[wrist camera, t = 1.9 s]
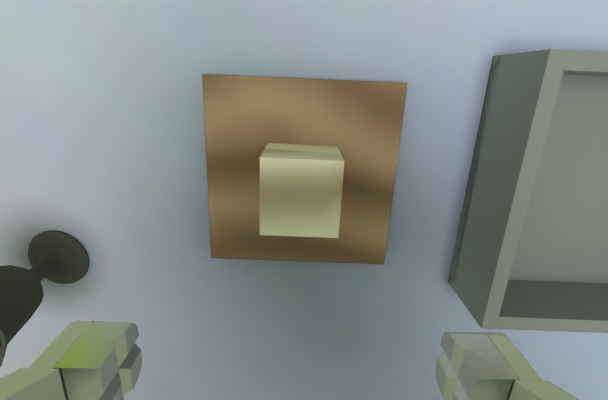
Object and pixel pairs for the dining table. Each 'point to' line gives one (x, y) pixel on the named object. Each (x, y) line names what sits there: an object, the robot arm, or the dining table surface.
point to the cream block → (300, 190)
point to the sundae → (37, 279)
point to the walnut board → (311, 131)
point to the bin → (538, 197)
